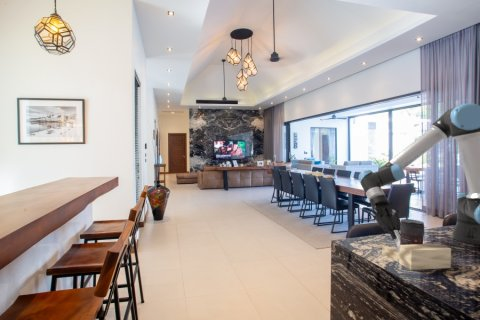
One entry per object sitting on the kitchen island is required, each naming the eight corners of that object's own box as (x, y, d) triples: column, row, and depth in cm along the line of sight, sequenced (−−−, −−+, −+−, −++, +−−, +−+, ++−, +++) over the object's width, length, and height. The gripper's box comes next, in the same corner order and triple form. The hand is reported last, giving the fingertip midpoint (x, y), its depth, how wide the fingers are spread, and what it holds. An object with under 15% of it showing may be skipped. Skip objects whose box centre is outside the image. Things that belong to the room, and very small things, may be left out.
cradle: (380, 253, 117) (381, 236, 117) (415, 251, 119) (415, 235, 119) (411, 269, 100) (411, 250, 100) (450, 267, 103) (451, 248, 102)
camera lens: (427, 263, 107) (428, 224, 106) (403, 261, 108) (404, 222, 108) (418, 255, 115) (419, 219, 114) (396, 254, 116) (397, 218, 116)
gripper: (386, 203, 136) (410, 249, 120) (361, 203, 134) (382, 250, 118) (394, 194, 130) (420, 241, 114) (368, 194, 129) (391, 242, 112)
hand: (401, 245), depth 116 cm, fingers closed
